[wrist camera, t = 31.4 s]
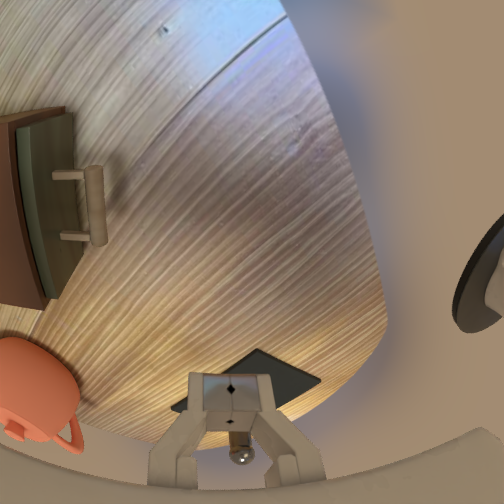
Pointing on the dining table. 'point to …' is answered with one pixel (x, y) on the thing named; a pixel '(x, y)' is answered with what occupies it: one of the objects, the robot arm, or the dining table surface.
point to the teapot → (37, 395)
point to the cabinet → (17, 220)
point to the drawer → (56, 199)
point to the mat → (282, 377)
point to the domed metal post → (241, 447)
